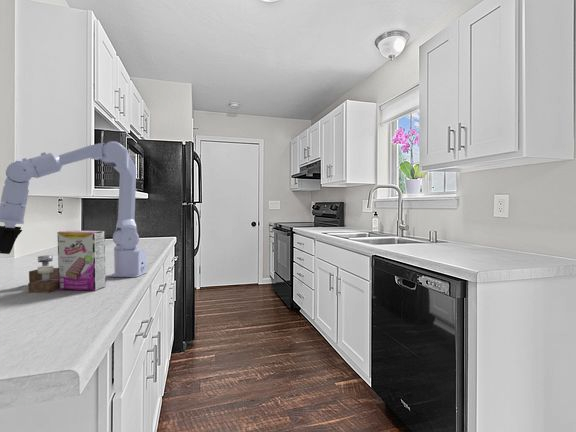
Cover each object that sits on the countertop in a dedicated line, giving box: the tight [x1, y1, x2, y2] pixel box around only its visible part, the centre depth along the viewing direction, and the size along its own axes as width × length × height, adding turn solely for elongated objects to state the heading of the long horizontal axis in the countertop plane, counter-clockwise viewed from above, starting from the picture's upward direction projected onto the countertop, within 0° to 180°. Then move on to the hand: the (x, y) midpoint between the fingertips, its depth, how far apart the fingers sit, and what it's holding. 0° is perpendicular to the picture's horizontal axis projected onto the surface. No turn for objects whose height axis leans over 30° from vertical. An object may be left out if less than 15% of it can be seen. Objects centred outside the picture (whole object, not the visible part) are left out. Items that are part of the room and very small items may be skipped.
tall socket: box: [28, 267, 59, 283], centre depth 102 cm, size 6×6×4 cm
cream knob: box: [37, 265, 54, 282], centre depth 95 cm, size 4×4×4 cm
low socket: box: [27, 279, 59, 294], centre depth 95 cm, size 6×6×2 cm
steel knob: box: [37, 254, 54, 266], centre depth 102 cm, size 4×4×6 cm
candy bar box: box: [57, 229, 106, 292], centre depth 97 cm, size 11×5×16 cm, turn 84°
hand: (4, 252), depth 96 cm, fingers open, 7 cm apart
